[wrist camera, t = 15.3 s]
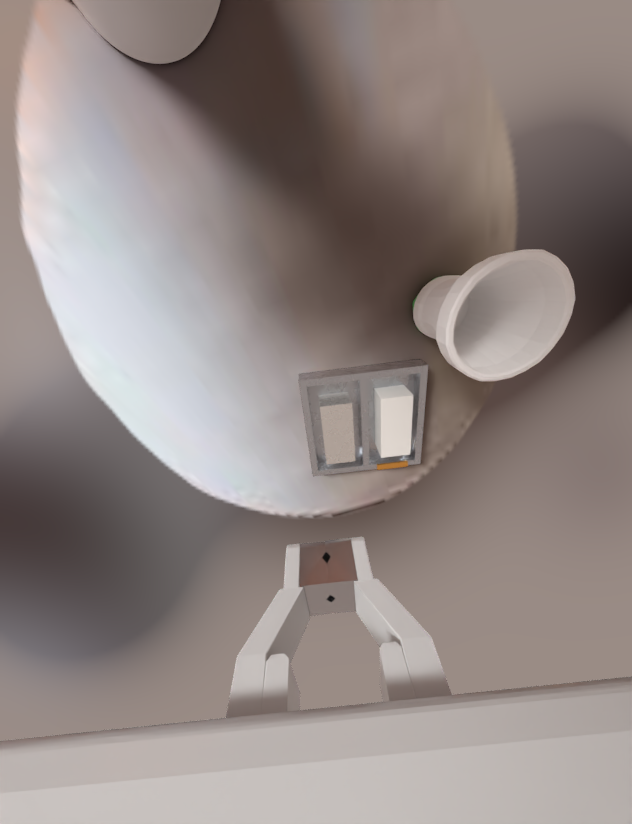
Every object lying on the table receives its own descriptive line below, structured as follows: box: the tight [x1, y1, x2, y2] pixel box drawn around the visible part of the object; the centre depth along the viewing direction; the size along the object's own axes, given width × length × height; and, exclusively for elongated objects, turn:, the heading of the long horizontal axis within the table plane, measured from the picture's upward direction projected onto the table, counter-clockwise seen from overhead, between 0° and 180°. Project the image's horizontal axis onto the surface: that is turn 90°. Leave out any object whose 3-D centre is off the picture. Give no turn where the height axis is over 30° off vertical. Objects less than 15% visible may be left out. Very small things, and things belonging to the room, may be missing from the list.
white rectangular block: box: [374, 385, 413, 458], centre depth 41 cm, size 10×4×4 cm, turn 7°
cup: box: [413, 250, 575, 381], centre depth 30 cm, size 11×11×14 cm
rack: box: [299, 359, 428, 476], centre depth 41 cm, size 17×18×5 cm
